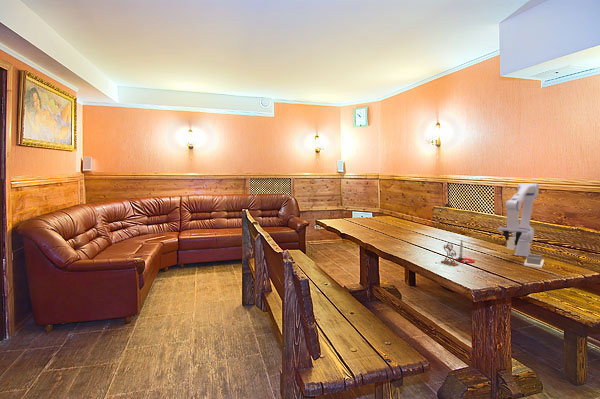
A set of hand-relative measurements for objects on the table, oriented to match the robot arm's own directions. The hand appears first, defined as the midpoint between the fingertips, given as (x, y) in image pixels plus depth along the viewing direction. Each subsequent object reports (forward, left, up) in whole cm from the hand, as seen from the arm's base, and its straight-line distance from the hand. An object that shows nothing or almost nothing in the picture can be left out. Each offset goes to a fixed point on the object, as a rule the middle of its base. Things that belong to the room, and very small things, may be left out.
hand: (511, 244), depth 187 cm
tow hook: (+16, -20, -10) cm, 28 cm away
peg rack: (0, +11, -9) cm, 14 cm away
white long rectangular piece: (0, 0, -2) cm, 2 cm away
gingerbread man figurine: (+27, -26, -10) cm, 39 cm away
